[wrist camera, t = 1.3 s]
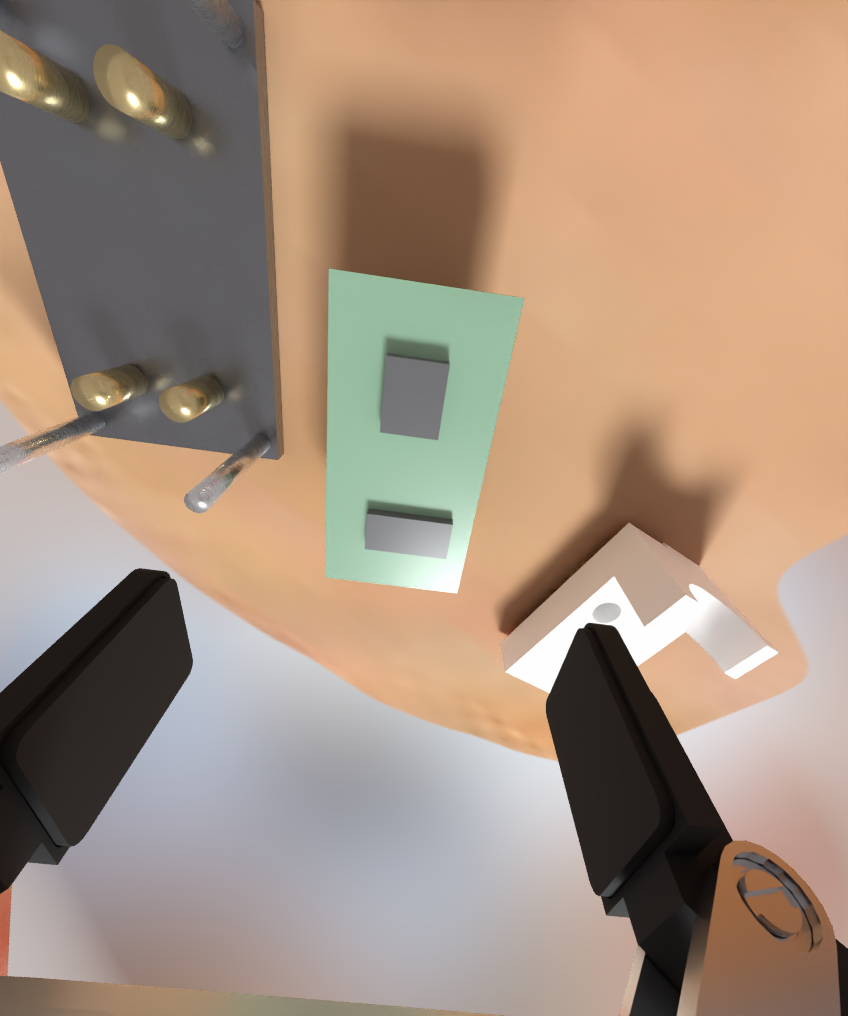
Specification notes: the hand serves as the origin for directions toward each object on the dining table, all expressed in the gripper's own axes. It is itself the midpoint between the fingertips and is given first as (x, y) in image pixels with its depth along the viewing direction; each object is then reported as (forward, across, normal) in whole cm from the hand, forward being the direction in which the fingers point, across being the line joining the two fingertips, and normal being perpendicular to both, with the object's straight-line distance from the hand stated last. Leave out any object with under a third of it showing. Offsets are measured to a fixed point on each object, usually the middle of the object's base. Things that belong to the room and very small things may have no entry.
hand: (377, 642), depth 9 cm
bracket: (+16, -15, +11) cm, 24 cm away
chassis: (+15, +13, -7) cm, 21 cm away
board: (+12, 0, -1) cm, 12 cm away
